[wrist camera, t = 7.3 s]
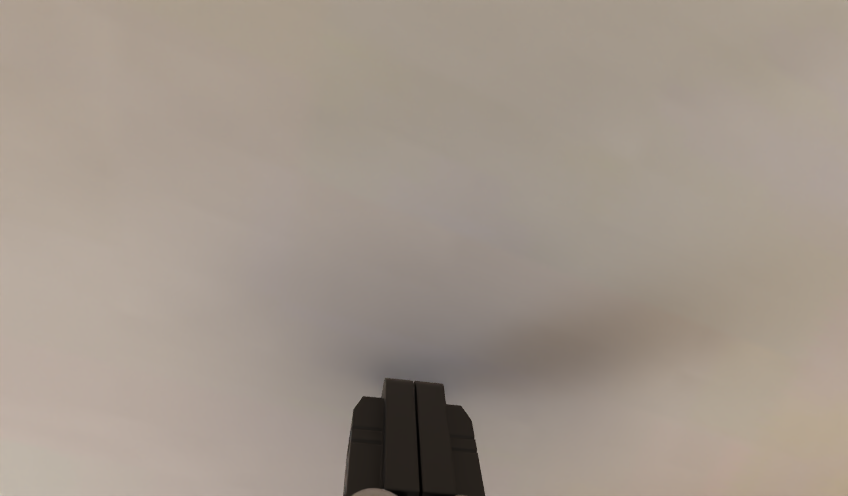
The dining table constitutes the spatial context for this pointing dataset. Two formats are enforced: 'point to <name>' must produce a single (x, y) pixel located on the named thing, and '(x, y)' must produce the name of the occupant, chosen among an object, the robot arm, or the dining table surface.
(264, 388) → the dining table surface
